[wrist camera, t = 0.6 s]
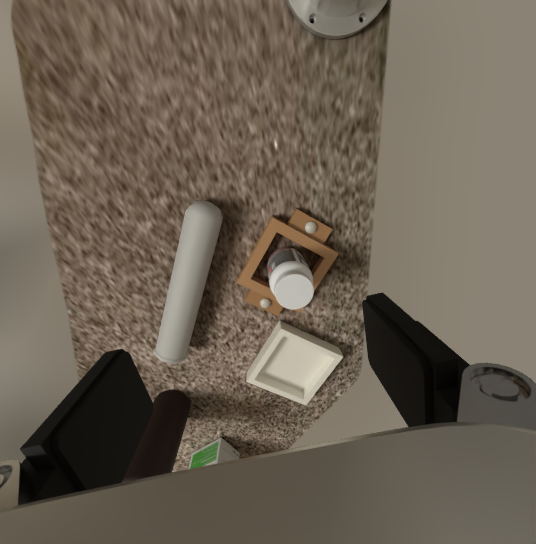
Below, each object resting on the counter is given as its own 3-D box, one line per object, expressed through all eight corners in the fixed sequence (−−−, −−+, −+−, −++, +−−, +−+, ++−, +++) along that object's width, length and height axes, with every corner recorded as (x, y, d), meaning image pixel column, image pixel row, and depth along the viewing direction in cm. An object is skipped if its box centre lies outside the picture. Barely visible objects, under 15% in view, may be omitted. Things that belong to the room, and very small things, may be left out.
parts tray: (279, 320, 44) (280, 328, 41) (339, 347, 46) (343, 356, 44) (247, 371, 47) (246, 381, 45) (303, 394, 50) (305, 405, 47)
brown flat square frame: (280, 199, 37) (281, 200, 35) (344, 235, 39) (348, 238, 37) (230, 291, 42) (229, 296, 40) (290, 319, 44) (291, 325, 42)
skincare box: (221, 435, 53) (207, 535, 39) (241, 453, 55) (235, 554, 41) (190, 453, 55) (165, 555, 40) (211, 469, 57) (194, 573, 42)
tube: (179, 194, 33) (146, 353, 41) (217, 208, 32) (175, 369, 40) (201, 195, 38) (168, 337, 46) (234, 208, 37) (194, 350, 45)
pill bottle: (263, 277, 41) (264, 308, 32) (272, 242, 39) (276, 265, 30) (298, 284, 42) (310, 317, 32) (309, 250, 40) (324, 275, 30)
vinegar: (154, 387, 48) (88, 524, 29) (192, 391, 49) (151, 528, 30) (154, 414, 50) (92, 557, 32) (190, 418, 51) (150, 560, 32)
